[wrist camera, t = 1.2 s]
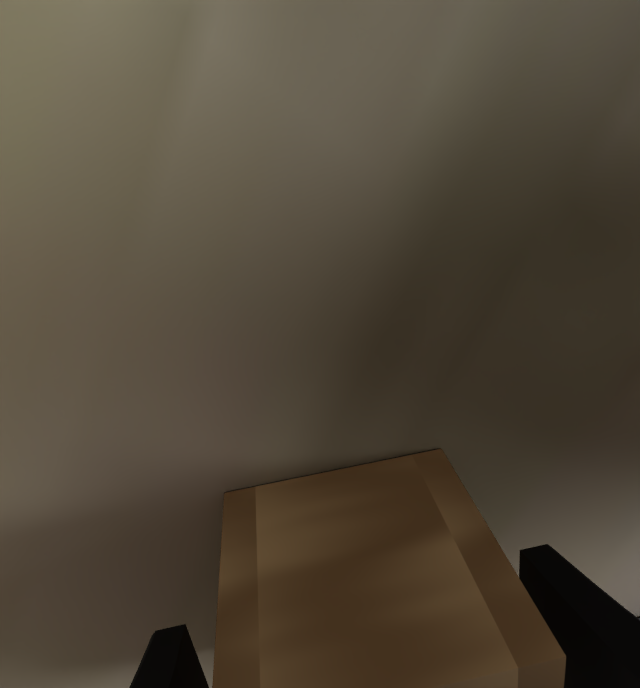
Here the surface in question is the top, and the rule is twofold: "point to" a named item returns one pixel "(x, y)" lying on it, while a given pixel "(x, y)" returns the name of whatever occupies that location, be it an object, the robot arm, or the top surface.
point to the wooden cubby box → (373, 586)
